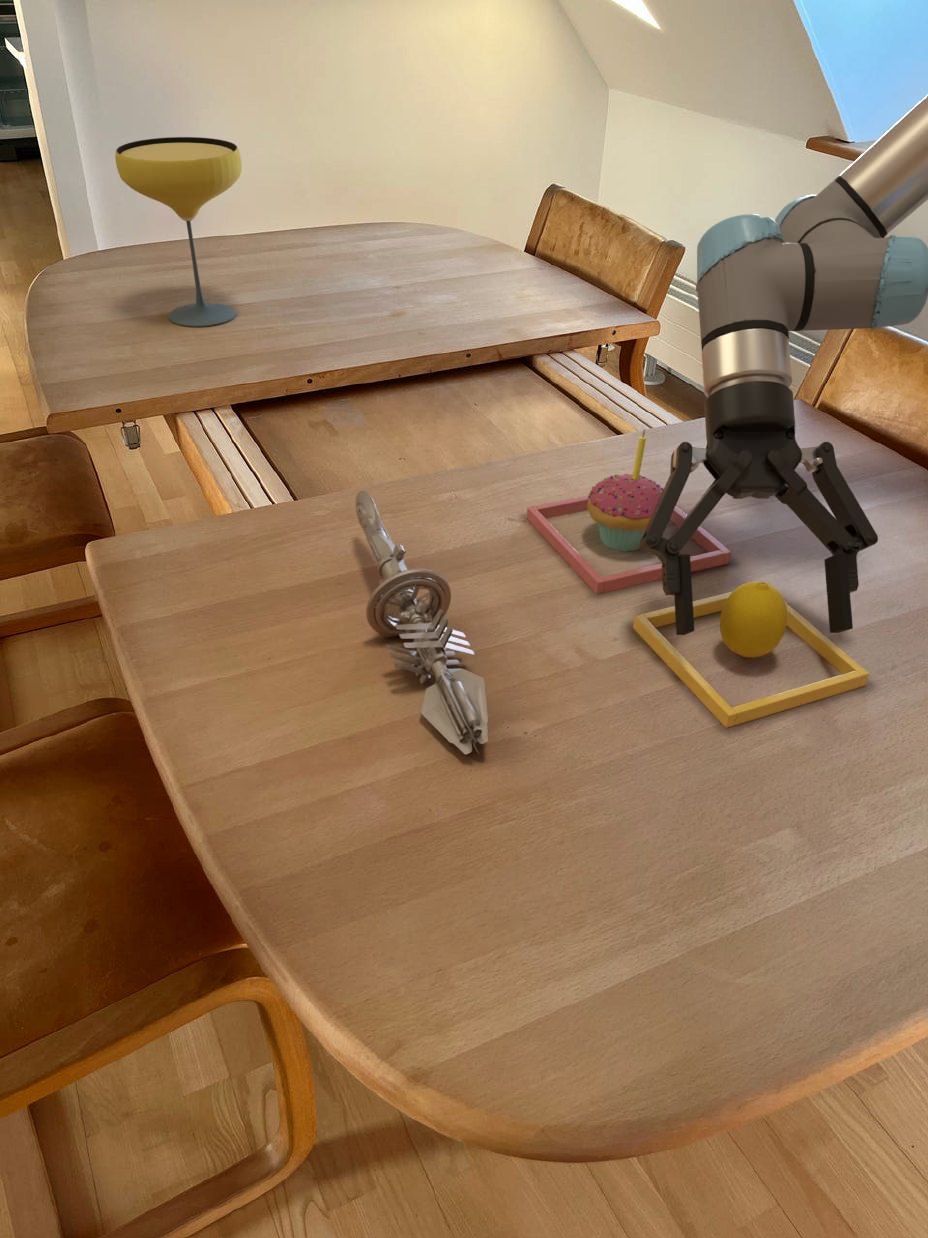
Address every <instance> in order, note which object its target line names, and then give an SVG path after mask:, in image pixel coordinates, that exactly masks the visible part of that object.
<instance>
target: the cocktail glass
mask: <svg viewBox="0 0 928 1238" xmlns="http://www.w3.org/2000/svg"><path fill="white" fill-rule="evenodd" d="M114 154H115V155H114V158H115V164H116V169H117V172H118V175H119V177H120V179H121V180H122V182H123V183H125V185H127V186H128V187H129V188H131V189H132V190H133V191H135V192H136V193H139V194H141V195H143V196H145V197H146V198H149V199H151V200H154V201H156V202H158V203H161V204H163V205H165V206H167V207H169V208H170V209H171V210H172V211H173V212H174V213H175V214H176V215H177V216H178V217H179V219H181V220H182V221H184V222H185V223H186V229H187V235H188V241H189V248H190V255H191V261H192V269H193V277H194V285H195V303H189V304H185V305H182V306H179V307H176V308H174V309H172V310H171V311H170V312H169V313H168V320H169V321H170V322H171V323H172V324H174V325H177V326H181V327H187V328H206V327H213V326H219V325H222V324H225V323H228V322H230V321H232V320H234V318H235V317H236V315H237V311H236V309H235V308H234V307H232V306H230V305H227V304H223V303H217V302H206V301H205V298H204V294H203V291H202V287H201V281H200V273H199V268H198V263H197V257H196V250H195V244H194V237H193V229H192V222H191V221H193V220H194V219H195V218H196V217H197V216H198V214H199V211H200V209H201V208H202V207H203V206H204V205H205V204H207V203H208V202H210V201H211V200H213V199H215V198H216V197H218V196H220V195H221V194H223V193H225V192H226V191H228V190H229V189H230V188H231V187H232V186H233V185H235V183H236V182H237V181H238V179H239V178H240V177H241V173H242V168H243V167H242V158H241V152H240V149H239V148H238V145H236V143H234V142H231V141H228V140H224V139H218V138H210V137H200V136H199V137H197V136H170V137H169V136H168V137H157V138H155V137H154V138H149V139H148V138H147V139H141V140H135V141H131V142H127V143H124V144H122V145H119V146H118V147H117V148H116V150H115V153H114Z"/></svg>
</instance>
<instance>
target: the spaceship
mask: <svg viewBox="0 0 928 1238" xmlns="http://www.w3.org/2000/svg"><path fill="white" fill-rule="evenodd" d="M355 511H356V516H357V520H358V523H359V525H360V527H361V528H362V530H363V533H364V535H365V538H366V541H367V543H368V546H369V548H370V550H371V552H372V554H373V557H374V558H375V559H374V560H375V561H376V565H377V566H376V569H377V570H376V571H377V574H378V576H379V580H378V581H379V582H378V584H379V585H378V586H377V587H375V589H374V590H373V591H372V593H371V595H370V597H369V598H368V600H367V601H368V602H367V605H366V609H365V610H366V611H365V613H366V614H365V615H366V616H365V617H366V620H367V622H368V624H369V626H370V627H371V629H372V630H373V631H374V632H376V633H377V634H378V635H381V636H383V637H386V638H393V637H397V636H399V637H400V639H401V640H403V639H407V640H408V639H412V640H413V642H403V644H402V645H403V647H400V646H396V645H392V644H388V643H387V644H386V643H385V646H386V648H387V649H388V650H391V651H394V652H398V653H400V654H401V653H402V654H404V655H408V656H404V655H399V654H396V653H390V652H389V655H390V658H391V659H395V660H398V661H402V662H405V663H407V664H408V663H409V664H410V665H407V664H403V663H398V662H393V666H394V667H395V668H398V669H402V670H405V671H409V672H412V673H414V674H415V676H416V677H420V678H419V683H420V684H421V685H425V684H426V682H427V681H428V679H431V677H434V678H435V681H434V684H432V685H430V686H428V687H427V688H425V691H424V696H423V700H422V704H421V709H420V714H421V715H422V717H424V718H425V719H426V720H427V721H428V722H429V723H430V724H431V726H433V727H434V728H435V730H437V731H438V732H439V733H440V735H442V736H443V737H444V738H445V739H446V740H447V741H448V742H449V743H450V744H453V745H454V746H455V747H456V748H457V749H458V750H460V752H461V753H462V754H464V755H468V754H470V753H472V752H473V748H474V750H475V751H476V752H477V754H478V755H480V753H479V751H478V748H477V746H476V744H478V743H479V744H480V745H483V744H486V743H487V742H488V741H489V732H488V723H489V713H488V703H487V695H486V693H487V692H486V686H485V678H484V677H482V676H480V675H478V674H476V673H474V672H471V671H470V670H466V669H465V668H448V667H447V666H456V665H461V663H460V661H459V659H448V657H452V656H453V657H454V656H456V653H455V651H458V652H461V653H465V654H470V655H473V656H474V655H476V654H475V652H474V650H472V649H469V648H466V647H463V646H460V645H457V644H461V645H465V646H467V647H471V645H470V642H469V641H467V640H464V639H461V638H458V637H462V638H466V635H465V633H464V632H462V631H458V630H455V629H453V627H452V626H448V623H449V620H448V617H445V615H446V614H447V612H448V610H449V608H450V605H451V600H452V590H451V587H450V584H449V582H448V581H447V580H446V578H444V576H442V575H441V574H439V573H438V572H435V571H434V570H431V569H425V568H412V569H408V567H407V566H406V565H407V564H406V560H405V554H406V550H405V549H404V546H403V545H402V544H394V542H393V541H392V539H391V537H390V535H389V532H388V531H387V529H386V527H385V525H384V524H383V522H382V518H381V514H380V512H379V510H378V508H377V505H376V502H375V500H374V499H373V498H372V496H371V495H370V494H369V493H368V492H367V491H364V490H360V491H358V492H357V494H356V497H355ZM420 590H427V591H428V592H426V593H425V594H423V595H421V596H419V597H417V596H418V594H419V591H420ZM424 598H426V599H424ZM428 600H429V601H428ZM426 601H428V603H427V602H426ZM388 605H391V606H392V605H393V606H397V607H398V609H395V610H394V611H391V612H388V611H387V610H388ZM387 612H388V613H387ZM396 613H398V614H397V615H395V614H396ZM392 615H394V616H392ZM396 617H397V618H396ZM453 635H455V636H458V637H454V636H453ZM450 642H452V643H450ZM453 643H456V644H453ZM412 649H415V650H412ZM447 649H449V650H447ZM409 656H411V657H409ZM412 657H413V658H412Z"/></svg>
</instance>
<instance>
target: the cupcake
mask: <svg viewBox="0 0 928 1238" xmlns="http://www.w3.org/2000/svg"><path fill="white" fill-rule="evenodd" d="M645 435H646V429H645V428H643V430H642V435H641V436H639V439H638V444H637V450H636V454H635V455H636V456H635V459H634V466H633V472H632V474H631V473H624V474H615V475H610V476H609V477H608V476H607V477H605V478H603V480H600V481H598V482H597V483H595V486H592V487H591V490H590V492H589V493H588V495H587V496H588V498H589V500H588V503H587V508H588V510H587V511H588V513H589V515H590V517H591V519H592V520H593V521H594V522H596V524H597V528H598V532H599V537H600V538H599V539H600V541H601V542H602V543H603V544H604V545H605V546H606V547H608V548H610V549H612V550H616V551H621V552H633V551H638V550H640V548H639V543H640V541H641V539H642V536H643V534H644V532H645V530H646V527H647V525H648V523H649V521H650V518H651V516H652V514H653V512H654V510H655V507H656V505H657V503H658V501H659V498H660V496H661V494H662V492H663V490H664V487H661V484H659V483H657V482H656V481H655V480H652V479H650V478H647V477H646V476H643V475H641V474H640V473H641V469H642V468H641V467H642V462H643V458H644V457H643V456H644V451H645V445H646V440H647V437H645Z"/></svg>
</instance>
